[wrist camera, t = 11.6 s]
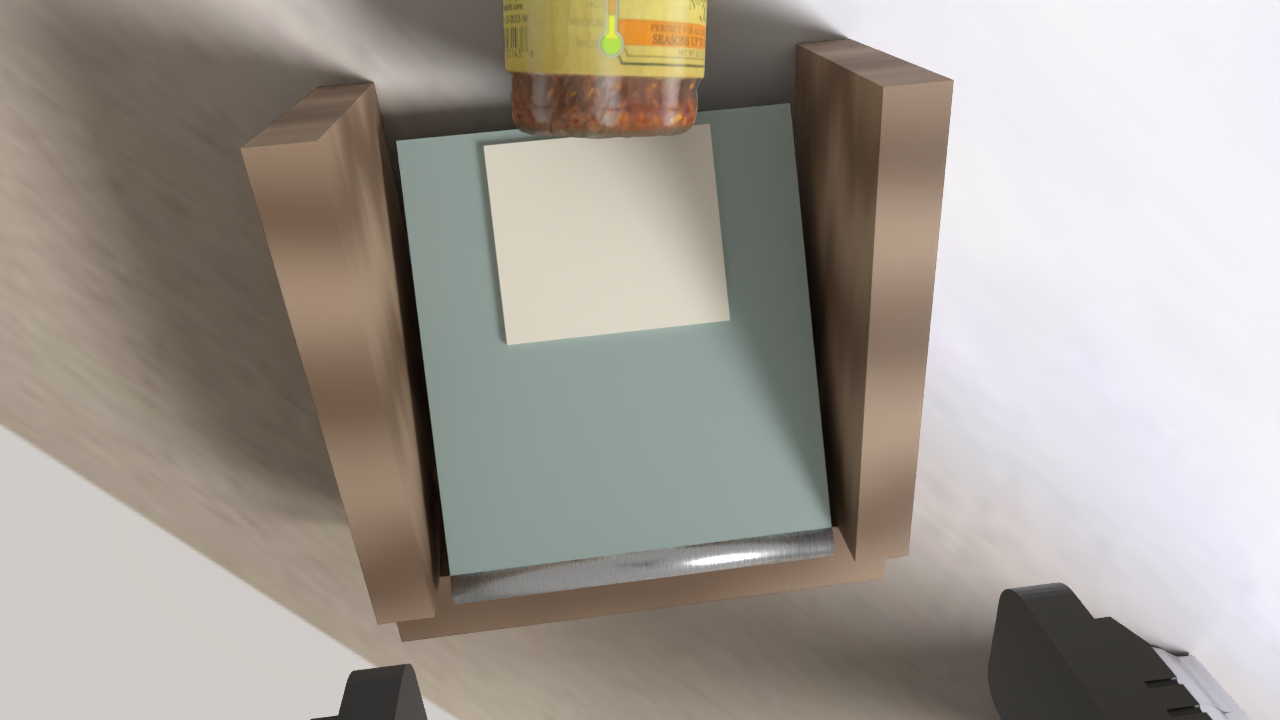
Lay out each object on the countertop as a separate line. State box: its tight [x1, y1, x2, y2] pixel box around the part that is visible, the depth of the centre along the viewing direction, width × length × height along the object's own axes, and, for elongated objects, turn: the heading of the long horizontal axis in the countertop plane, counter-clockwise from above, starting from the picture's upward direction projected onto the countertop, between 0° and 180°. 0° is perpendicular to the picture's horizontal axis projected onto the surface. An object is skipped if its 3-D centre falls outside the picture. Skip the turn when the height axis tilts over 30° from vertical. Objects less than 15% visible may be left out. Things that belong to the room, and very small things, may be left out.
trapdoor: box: [396, 103, 835, 604], centre depth 31 cm, size 17×14×1 cm
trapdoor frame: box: [240, 39, 954, 642], centre depth 32 cm, size 20×19×9 cm
